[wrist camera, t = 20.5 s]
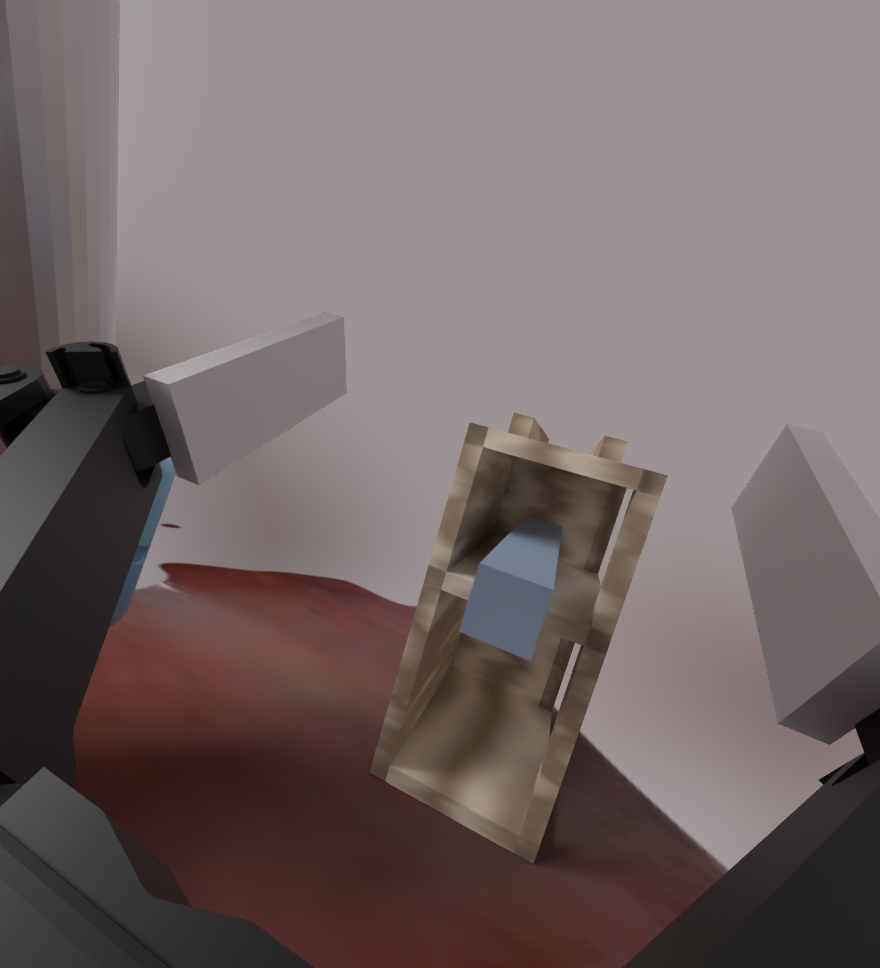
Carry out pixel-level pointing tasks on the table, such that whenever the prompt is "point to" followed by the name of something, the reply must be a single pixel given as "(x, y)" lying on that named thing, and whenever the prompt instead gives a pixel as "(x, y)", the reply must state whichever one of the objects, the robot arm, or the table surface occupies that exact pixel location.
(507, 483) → the shelf stand
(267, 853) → the table surface
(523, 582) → the block
